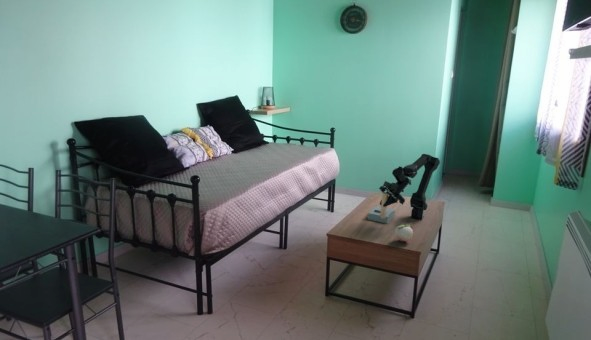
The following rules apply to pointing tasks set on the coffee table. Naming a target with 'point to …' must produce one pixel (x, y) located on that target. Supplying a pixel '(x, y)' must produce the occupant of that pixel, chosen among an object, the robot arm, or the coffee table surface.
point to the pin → (383, 209)
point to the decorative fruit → (404, 232)
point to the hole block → (375, 214)
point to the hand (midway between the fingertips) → (381, 205)
